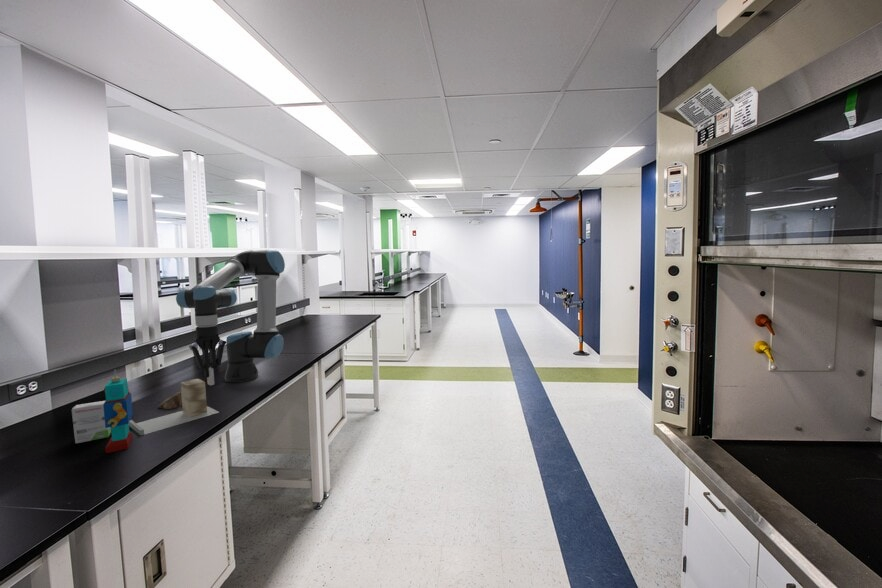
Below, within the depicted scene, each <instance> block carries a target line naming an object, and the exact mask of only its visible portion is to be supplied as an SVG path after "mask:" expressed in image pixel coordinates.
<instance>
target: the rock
mask: <svg viewBox="0 0 882 588" xmlns="http://www.w3.org/2000/svg"><path fill="white" fill-rule="evenodd" d="M157 406H158V408H160V409H164V410H170V409H175V408H180V407H181V406H182V396H181V390H180V391H177V392H176V393H173V395H171V396H169V397H167V398H166V399H164V400H163V401H162V402H161V403H160V404H158V405H157Z"/></svg>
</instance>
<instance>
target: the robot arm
mask: <svg viewBox="0 0 882 588" xmlns="http://www.w3.org/2000/svg"><path fill="white" fill-rule="evenodd" d="M285 268H286V264H285V259H284V257H283V254H282V253H281V252H280V250H279V251H278V250H276V249H256V250H254V249H253V250H252V249H249V250H245V251H242V252H240V253H237V254H236V255H233V256H231V257H230V258H229V259H227V260H226V261H225V263H224V265H223V266H221V267H220V268H219V269H217V270H216V271H215V272H213V273H211V274H210V275H209V276H207V277H206V278H204V279H203V280H202V281H200V282H199V283H198V284H196V285H194V286H193V287H192V288H191V289H183V290H180V291H178V292H177V294H176V296H175V300H176V304H177V305H178V306H179V307H180V308H181V309H182V308H183V309H194V321H195V323H194V324H195V326H196V327H195V335H196V338H195V342H194V343H193V344H192V345H189V346H188V348H189V349H190V350H191V351H192V353H193V356H194V359H195V362H196V365H197V367H198V369H200V370H203V375H204V377H205V378H206V380H207V385H209V386H213V385H215V376H216V375H217V368H218V366H221V364H222V359H223V354H224V349H225V346H226V359H227V368H226V371H225V374H224V381H225V382H227V383H232V384H233V383H243V382H249V381H253V380H255V379H257V378H258V377H259V371H258V368H257V366H256V363H255V361H254V359H275V358H277V357H278V356H280V354H281V352H282V351H283V348H284V345H285V343H284V342H285V341H284V337H283V335H281V334H280V331H279V330H278V328H277V327H276V326H277V325H276V324H277V323H276V322H277V321H276V320H277V280H278V279H279V278H281V277H280V275H281V273H283V272H285ZM246 274H253V275H254V278H255V279H256V280H257V295H256V296H257V299H256V301H257V302H256V305H257V307H256V308H257V309H256V328H255V330H253V332H252V331H250V330H249V331H242V332H235V333H233V334H229V335H227V337H226V340H224V339H221V338H220V336H219V326H218V324H219V321H218V309H222V308H229V307H232V306H233V305H235V304H236V302H237V300H238V297H237V293H236V292H235V291H234V289H233V290H232V289H230V288H224V287H226V286H227V285H229V284H230V283H231V282H232V281H234V280H235V279H236V278H240V277H242V276H243V275H246ZM217 345H218V346H217ZM216 346H217V351H216ZM198 348H200V350H201V354H202V357H201V355H200V352H199V350H198ZM216 352H217V353H216Z"/></svg>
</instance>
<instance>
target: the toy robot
mask: <svg viewBox="0 0 882 588" xmlns="http://www.w3.org/2000/svg"><path fill="white" fill-rule="evenodd" d="M116 371H117V370H116V369H114V371H113V373H114V374H113V375H114V377H111V378H110V379H111V380H109V381H108V382H107V384H105V386H104V388H103V392H104V394H105V400H104V401H105V403H104V404H103V407H104V417H105V428H109V427H111V437H110V438H109V440H108V442H107V445H106V446H105V447H104V448H105V450H104V451H105V454H108V453H114V452H118V451H124V450H128V449H129V447H130V445H131V443H132V441H133V433H132V432H131V431H130V426H129V421H130V420H132V417H133V415H134V413H133V403H132V402H133V401H132V393H131V392H130V391H129V387H128V386H129V385H128V379H127V378H121V377H120V376H116ZM123 449H124V450H123Z"/></svg>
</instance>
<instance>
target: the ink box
mask: <svg viewBox="0 0 882 588" xmlns="http://www.w3.org/2000/svg"><path fill="white" fill-rule="evenodd" d="M105 401H106V400H102V401H101V400H99V401H94V402H88V403H87V402H86V403H81V404H75V406H73V407H72V409H71V416H72V424H73V433H74V434H73V435H74V443H75V444H81V443H85V442H91V441H95V440H101V439H106V438H109V437H110V435H111V434H112V432H111V427H109V428H105V417H104V407H103V404H104V403H105Z"/></svg>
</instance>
